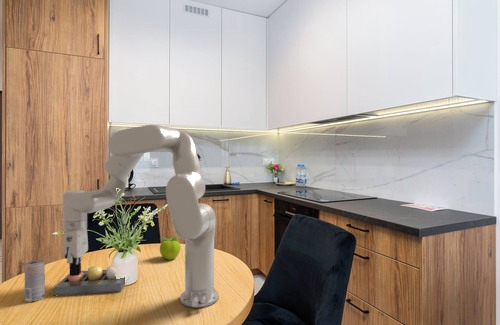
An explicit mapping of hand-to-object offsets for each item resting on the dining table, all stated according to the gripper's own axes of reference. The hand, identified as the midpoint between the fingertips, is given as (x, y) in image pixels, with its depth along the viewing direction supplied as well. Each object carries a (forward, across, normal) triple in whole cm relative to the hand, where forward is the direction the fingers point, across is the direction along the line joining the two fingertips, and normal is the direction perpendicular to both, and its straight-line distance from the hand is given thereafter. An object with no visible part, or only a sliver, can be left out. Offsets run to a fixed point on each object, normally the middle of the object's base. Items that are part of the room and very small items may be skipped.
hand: (75, 274), depth 107 cm
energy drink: (+5, -8, +9) cm, 13 cm away
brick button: (+4, 0, 0) cm, 4 cm away
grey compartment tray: (+4, 0, -7) cm, 8 cm away
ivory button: (+2, 0, -13) cm, 13 cm away
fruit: (+4, +25, -31) cm, 40 cm away
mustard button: (+2, 0, -7) cm, 7 cm away
